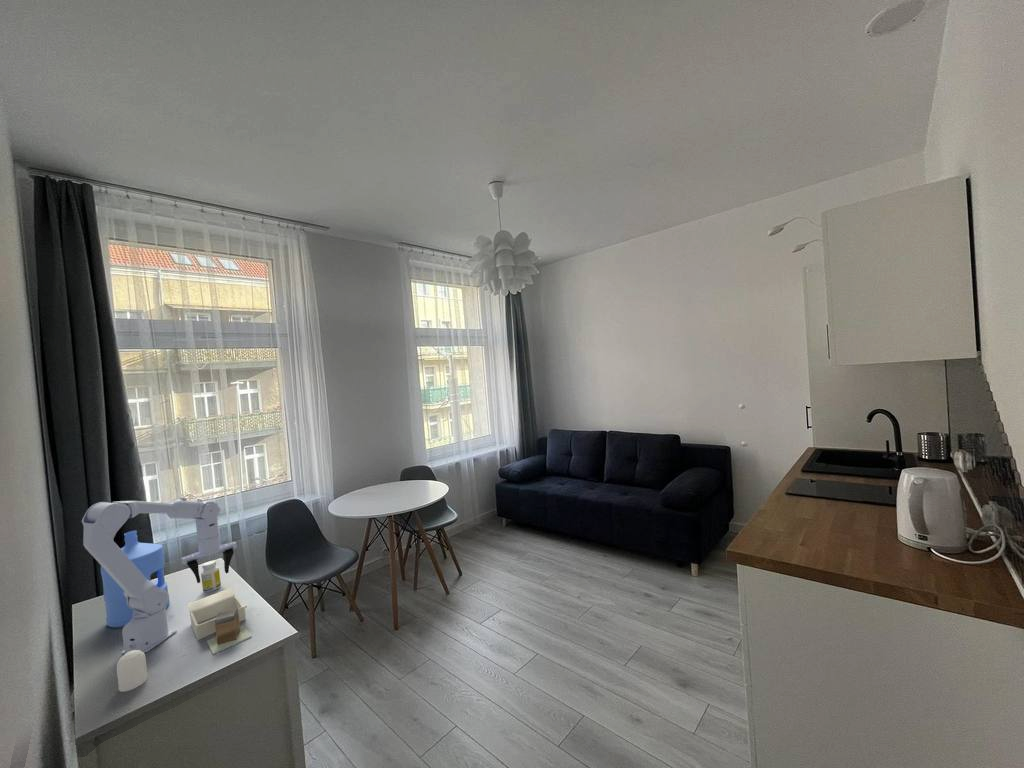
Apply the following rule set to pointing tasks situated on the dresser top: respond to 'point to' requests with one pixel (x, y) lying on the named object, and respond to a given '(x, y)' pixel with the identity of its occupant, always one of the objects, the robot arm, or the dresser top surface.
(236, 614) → the walnut block
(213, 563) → the supplement bottle
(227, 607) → the carton
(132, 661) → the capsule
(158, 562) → the water jug
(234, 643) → the mat
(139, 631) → the robot arm
